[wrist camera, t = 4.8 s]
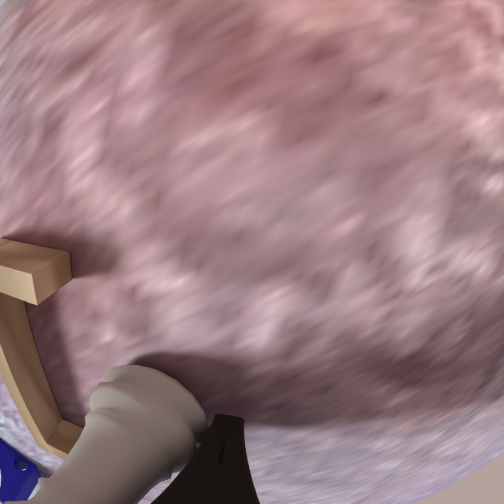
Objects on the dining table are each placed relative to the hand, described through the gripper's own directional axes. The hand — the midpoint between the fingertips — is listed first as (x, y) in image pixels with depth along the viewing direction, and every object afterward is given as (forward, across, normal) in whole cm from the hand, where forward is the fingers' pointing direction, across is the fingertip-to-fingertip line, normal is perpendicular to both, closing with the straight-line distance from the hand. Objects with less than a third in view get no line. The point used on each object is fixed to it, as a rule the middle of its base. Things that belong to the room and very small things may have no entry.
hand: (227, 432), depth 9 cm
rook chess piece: (+1, +3, 0) cm, 3 cm away
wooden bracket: (+1, +8, 0) cm, 8 cm away
